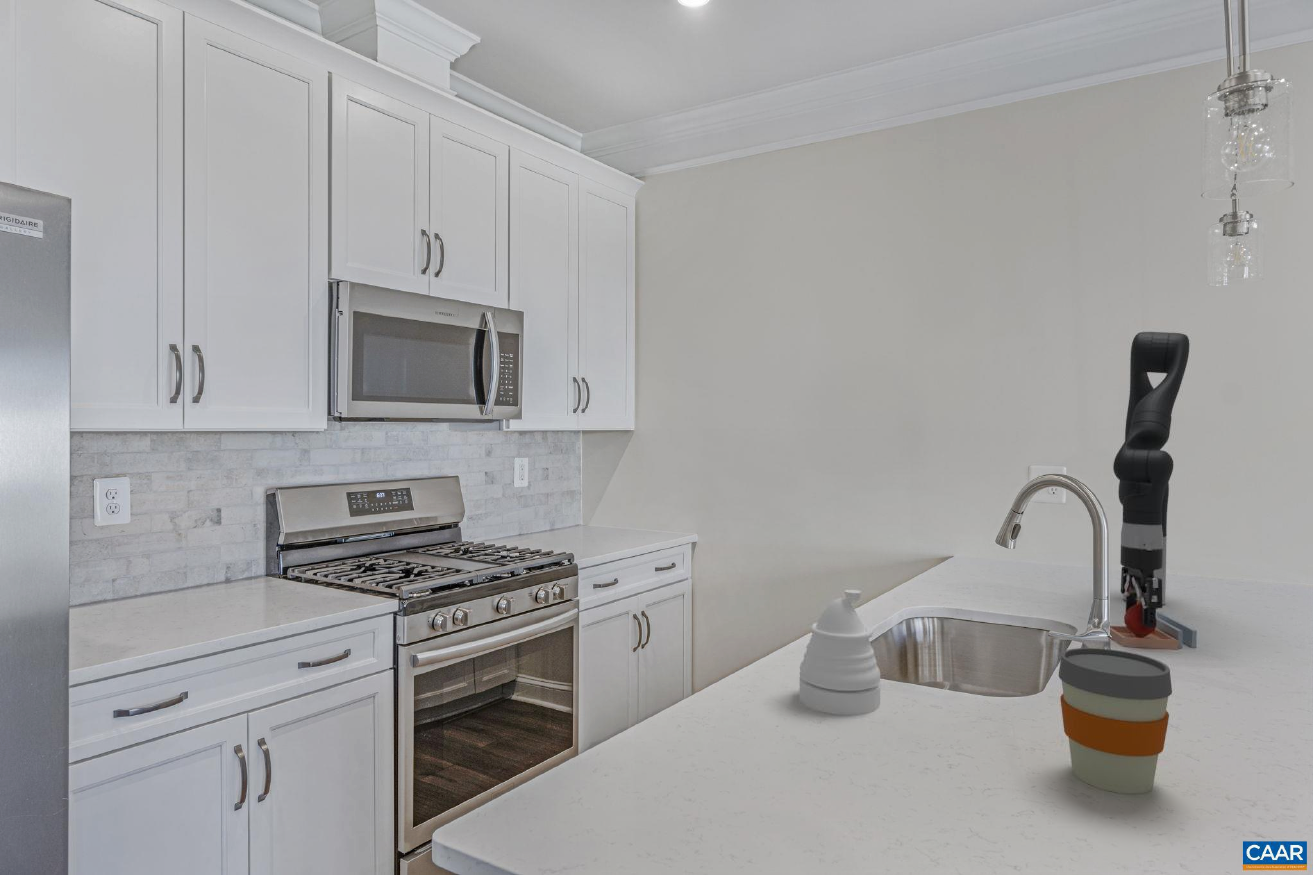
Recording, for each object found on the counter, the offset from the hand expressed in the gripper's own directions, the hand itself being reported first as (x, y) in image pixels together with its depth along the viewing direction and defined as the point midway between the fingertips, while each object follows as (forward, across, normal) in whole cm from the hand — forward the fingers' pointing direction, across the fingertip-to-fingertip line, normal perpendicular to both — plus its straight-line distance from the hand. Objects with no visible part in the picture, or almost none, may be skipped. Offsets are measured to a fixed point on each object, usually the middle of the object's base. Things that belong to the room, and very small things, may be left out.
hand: (1140, 621), depth 165 cm
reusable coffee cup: (+4, +71, -31) cm, 78 cm away
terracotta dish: (+4, 0, 0) cm, 4 cm away
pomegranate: (+4, 0, 0) cm, 4 cm away
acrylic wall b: (+4, -4, +6) cm, 8 cm away
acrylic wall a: (+4, -5, +9) cm, 11 cm away
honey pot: (+4, +49, -64) cm, 81 cm away
